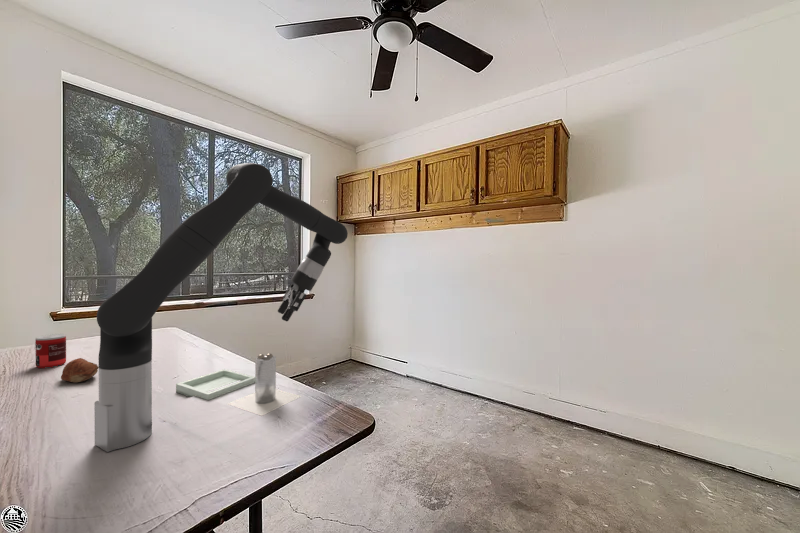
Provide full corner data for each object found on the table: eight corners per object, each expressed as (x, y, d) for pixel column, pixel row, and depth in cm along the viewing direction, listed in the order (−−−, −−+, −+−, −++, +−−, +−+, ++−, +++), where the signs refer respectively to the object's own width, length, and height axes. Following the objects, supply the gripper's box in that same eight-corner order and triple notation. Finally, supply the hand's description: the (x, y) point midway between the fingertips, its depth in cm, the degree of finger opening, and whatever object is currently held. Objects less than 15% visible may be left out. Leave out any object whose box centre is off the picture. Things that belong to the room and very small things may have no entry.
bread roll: (56, 368, 110) (76, 343, 111) (86, 372, 117) (105, 349, 118) (54, 392, 102) (76, 365, 103) (87, 395, 108) (107, 370, 109)
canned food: (42, 363, 125) (42, 334, 125) (70, 361, 128) (70, 333, 128) (30, 369, 118) (30, 339, 118) (60, 367, 122) (60, 337, 121)
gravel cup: (264, 405, 90) (264, 358, 90) (250, 401, 92) (251, 355, 92) (279, 398, 95) (280, 353, 94) (266, 394, 97) (267, 350, 97)
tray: (207, 403, 93) (207, 394, 93) (176, 392, 100) (176, 383, 100) (256, 384, 107) (256, 377, 107) (225, 376, 115) (225, 368, 115)
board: (261, 419, 84) (261, 415, 84) (226, 407, 91) (226, 403, 91) (301, 399, 96) (301, 396, 96) (268, 390, 103) (268, 386, 103)
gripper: (293, 265, 114) (268, 306, 112) (302, 271, 102) (274, 318, 100) (312, 275, 118) (288, 315, 116) (323, 282, 105) (296, 327, 103)
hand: (282, 316), depth 108 cm, fingers open, 8 cm apart
